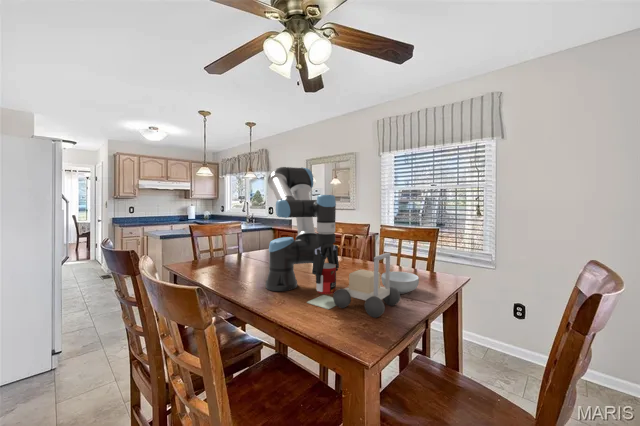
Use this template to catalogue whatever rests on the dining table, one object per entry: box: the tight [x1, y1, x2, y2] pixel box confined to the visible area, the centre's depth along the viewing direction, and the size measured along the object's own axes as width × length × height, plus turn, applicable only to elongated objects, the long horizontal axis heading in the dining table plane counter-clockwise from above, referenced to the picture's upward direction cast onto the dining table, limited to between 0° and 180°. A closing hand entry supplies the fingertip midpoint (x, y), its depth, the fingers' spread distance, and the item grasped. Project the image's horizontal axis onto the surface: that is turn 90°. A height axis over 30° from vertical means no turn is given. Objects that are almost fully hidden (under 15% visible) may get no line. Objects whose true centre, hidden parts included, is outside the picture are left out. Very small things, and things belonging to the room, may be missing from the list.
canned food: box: [317, 262, 337, 295], centre depth 113 cm, size 8×8×11 cm
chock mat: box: [306, 294, 338, 310], centre depth 114 cm, size 11×11×1 cm
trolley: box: [332, 252, 401, 319], centre depth 109 cm, size 21×16×21 cm
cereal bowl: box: [380, 270, 420, 295], centre depth 128 cm, size 17×17×7 cm
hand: (326, 288), depth 113 cm, fingers closed on canned food, 8 cm apart
